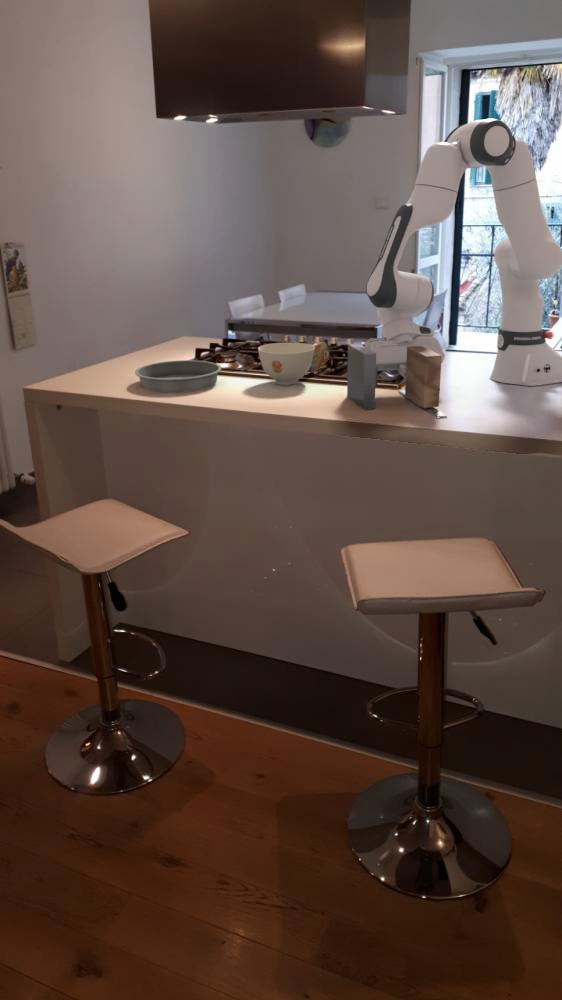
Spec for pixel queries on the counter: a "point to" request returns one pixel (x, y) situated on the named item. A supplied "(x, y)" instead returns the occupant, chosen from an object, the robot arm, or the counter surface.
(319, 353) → the tin
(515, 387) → the counter surface
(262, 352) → the bowl
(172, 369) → the cake pan
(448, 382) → the counter surface
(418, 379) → the brown flat angular block
